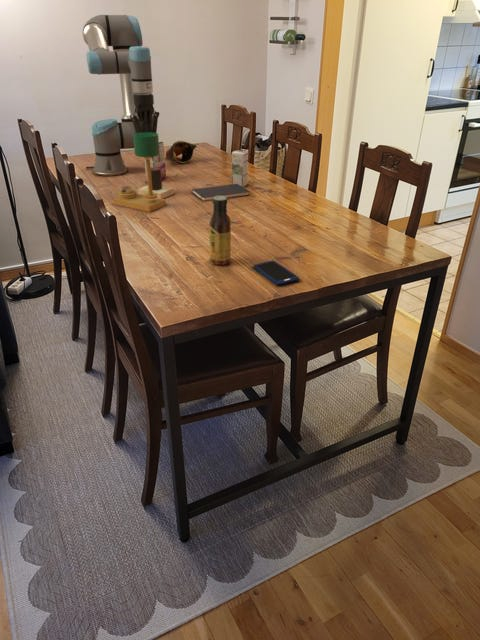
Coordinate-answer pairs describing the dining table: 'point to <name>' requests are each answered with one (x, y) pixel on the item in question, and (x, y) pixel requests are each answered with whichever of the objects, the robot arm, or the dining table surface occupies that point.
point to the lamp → (147, 154)
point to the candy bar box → (158, 161)
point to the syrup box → (240, 167)
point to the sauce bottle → (220, 232)
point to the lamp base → (138, 201)
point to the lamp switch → (126, 190)
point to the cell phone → (276, 272)
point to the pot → (181, 151)
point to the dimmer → (157, 191)
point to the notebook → (220, 191)
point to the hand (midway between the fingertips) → (148, 157)
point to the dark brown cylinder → (156, 178)
